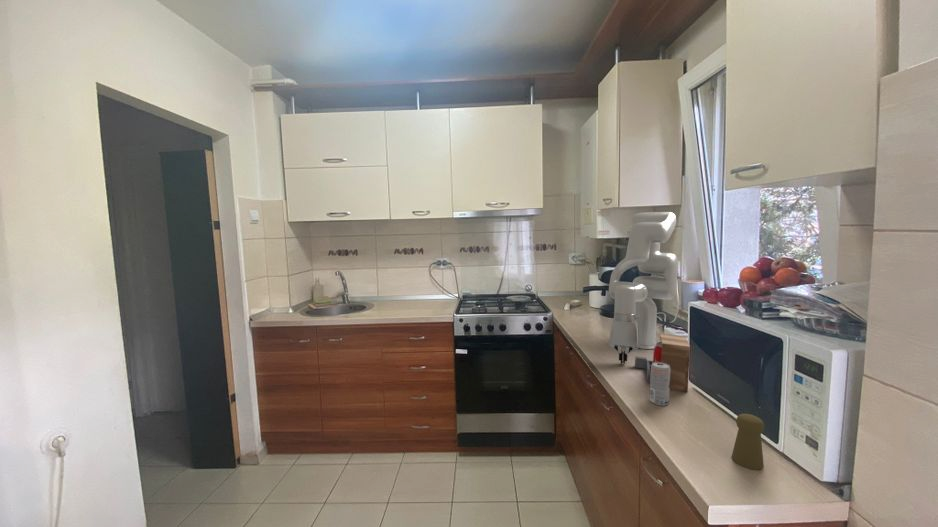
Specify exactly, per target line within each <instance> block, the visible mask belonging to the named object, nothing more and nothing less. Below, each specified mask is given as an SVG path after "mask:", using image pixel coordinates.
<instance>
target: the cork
mask: <svg viewBox="0 0 938 527" xmlns="http://www.w3.org/2000/svg"><path fill="white" fill-rule="evenodd" d="M735 423H736V426H737V428H738V429H737V433H736V438H735V442H734V446H733V450H732V453H731V459H732V461H733V462H734V463H735V464H737V465H739V466H741V467H742V468H746V469H747V470H753V471H759V470H758V469H761V470H763V469H764V468H763V467H764V466H765V465H764V454H763V453H764V452H763V443H762V442H763V441H762V434H763V433H764V431H765V423H764V421H763V420H762V419H761V418H759V417H758V416H756V415H753V414H750V413H740V414H738V415H737V417H736V419H735ZM762 468H763V469H762Z"/></svg>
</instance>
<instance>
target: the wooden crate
mask: <svg viewBox="0 0 938 527" xmlns="http://www.w3.org/2000/svg"><path fill="white" fill-rule="evenodd" d="M659 339H660V340H659V342H661V345H662V357H661V362H662V363H666V364H668V365H669V366H670V369H671V370H670V390H671V391H678V392H685V393H688V392H689V388H688V387H689V373H690V372H689V371H690V354H691V346H690V343H689V341H688V339H687V337H686V335H677V334H667V333H659ZM670 390H669V391H670Z"/></svg>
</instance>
